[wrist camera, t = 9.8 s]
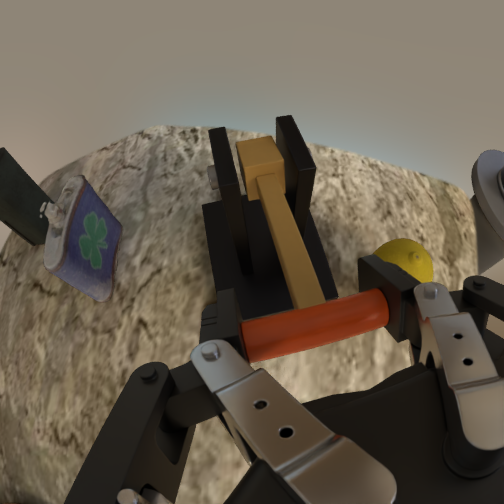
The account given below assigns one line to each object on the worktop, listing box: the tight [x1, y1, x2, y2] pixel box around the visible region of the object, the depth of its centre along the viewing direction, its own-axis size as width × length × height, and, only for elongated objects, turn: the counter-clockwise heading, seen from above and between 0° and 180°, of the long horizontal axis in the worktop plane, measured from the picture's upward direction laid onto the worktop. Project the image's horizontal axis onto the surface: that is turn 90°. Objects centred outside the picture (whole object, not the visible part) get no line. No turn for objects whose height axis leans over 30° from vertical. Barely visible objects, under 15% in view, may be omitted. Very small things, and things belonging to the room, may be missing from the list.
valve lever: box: [236, 136, 389, 363], centre depth 14 cm, size 12×5×2 cm, turn 12°
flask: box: [40, 175, 123, 302], centre depth 24 cm, size 9×3×11 cm, turn 1°
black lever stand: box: [202, 115, 339, 322], centre depth 21 cm, size 12×10×14 cm
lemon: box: [373, 238, 433, 283], centre depth 22 cm, size 6×6×8 cm
